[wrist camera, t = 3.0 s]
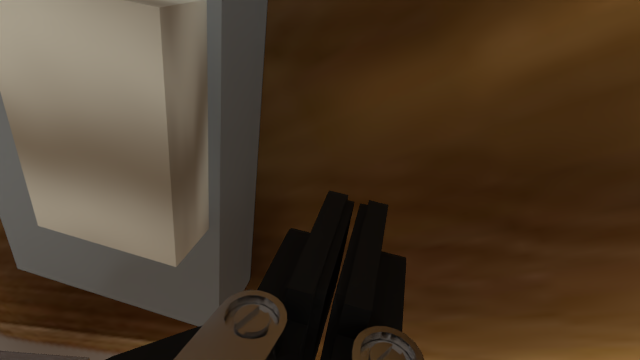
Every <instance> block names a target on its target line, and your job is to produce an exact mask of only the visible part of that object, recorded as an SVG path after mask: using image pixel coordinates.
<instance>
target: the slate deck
mask: <svg viewBox="0 0 640 360" xmlns="http://www.w3.org/2000/svg"><path fill="white" fill-rule="evenodd" d="M267 2H268V0H207V77H208V192H209V229H208V230H207V232H206V233H205V234H204V235H203V236H202V237H201V239H200V240H199V241H198V242H197V243H196V244H195V246H194V247H193V248H192V249H191V250H190V252H189V253H188V254H187V255H186V256H185V257H184V259H183V260H182V261H181V262H180V263H179V264H178V266H177V267H174V266H171V265H167V264H164V263H161V262H157V261H154V260H151V259H147V258H144V257H141V256H137V255H134V254H131V253H127V252H124V251H121V250H117V249H114V248H110V247H107V246H104V245H100V244H97V243H94V242H90V241H87V240H84V239H80V238H77V237H74V236H70V235H67V234H64V233H60V232H57V231H54V230H50V229H47V228H44V227H40V226H38V224H37V220H36V217H35V213H34V210H33V206H32V202H31V199H30V195H29V192H28V188H27V185H26V181H25V178H24V174H23V171H22V167H21V163H20V160H19V156H18V153H17V149H16V146H15V142H14V139H13V135H12V131H11V128H10V124H9V121H8V117H7V114H6V110H5V107H4V103H3V100H2V96H1V92H0V218H1V221H2V224H3V226H4V229H5V232H6V235H7V238H8V241H9V244H10V247H11V250H12V253H13V256H14V259H15V262H16V265H17V268H18V269H21V270H24V271H27V272H30V273H33V274H36V275H39V276H42V277H46V278H49V279H52V280H55V281H58V282H61V283H64V284H67V285H71V286H74V287H77V288H80V289H83V290H86V291H89V292H92V293H95V294H99V295H102V296H105V297H108V298H111V299H114V300H117V301H120V302H124V303H127V304H130V305H133V306H136V307H139V308H142V309H145V310H149V311H152V312H155V313H158V314H161V315H164V316H167V317H170V318H174V319H177V320H180V321H183V322H186V323H189V324H192V325H195V326H202V325H204V323H205V322H206V321H207V320H208V319H209V318H210V317H211V315H212V314H213V313H214V312H215V311H216V310H217V308H218V307H219V306H220V305H221V304H222V303H223V302H224V301H225V300H226V299H227V298H228V297H230V296H232V295H234V294H236V293H238V292H242V291H244V289H245V287H246V286H247V284H248V282H249V280H250V273H251V257H252V241H253V225H254V209H255V193H256V177H257V161H258V145H259V129H260V113H261V98H262V82H263V66H264V50H265V34H266V18H267Z"/></svg>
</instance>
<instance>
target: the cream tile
mask: <svg viewBox="0 0 640 360" xmlns="http://www.w3.org/2000/svg"><path fill="white" fill-rule="evenodd" d="M0 92H1V96H2V100H3V103H4V107H5V110H6V114H7V117H8V121H9V124H10V128H11V131H12V135H13V139H14V142H15V146H16V149H17V153H18V156H19V160H20V163H21V167H22V171H23V174H24V178H25V181H26V185H27V188H28V192H29V195H30V199H31V202H32V206H33V210H34V213H35V217H36V220H37V224H38V226H40V227H44V228H47V229H50V230H54V231H57V232H60V233H64V234H67V235H70V236H74V237H77V238H80V239H84V240H87V241H90V242H94V243H97V244H100V245H104V246H107V247H110V248H114V249H117V250H121V251H124V252H127V253H131V254H134V255H137V256H141V257H144V258H147V259H151V260H154V261H157V262H161V263H164V264H167V265H171V266H174V267H177V266H178V264H179V263H180V262H181V261H182V260H183V259H184V257H185V256H186V255H187V254H188V253H189V252H190V250H191V249H192V248H193V247H194V246H195V244H196V243H197V242H198V241H199V240H200V239H201V237H202V236H203V235H204V234H205V233H206V232H207V230H208V229H209V192H208V77H207V0H0Z"/></svg>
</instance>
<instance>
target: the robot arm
mask: <svg viewBox="0 0 640 360" xmlns="http://www.w3.org/2000/svg"><path fill="white" fill-rule="evenodd" d="M353 206H354V202H353V201H349V200H348V195H345V194H341V193H337V192H333V191H329V192H328V194H327V196H326V199H325V201H324V203H323V206H322V208H321V210H320V212H319V215H318V217H317V219H316V222H315V224H314V226H313V228H312V231H311V233H309V232H305V231H301V230H297V229H293V228H291V229H290V230H289V231H288V233H287V235H286V237H285V239H284V240H283V242H282V244H281V246H280V248H279V250H278V252H277V254H276V256H275V258H274V259H273V261H272V263H271V265H270V267H269V269H268V271H267V273H266V275H265V276H264V278H263V280H262V282H261V284H260V286H259V288H258V290H247V291H242V292H238V293H236V294H234V295H232V296H230V297H228V298H227V299H226V300H225V301H224V302H223V303H222V304H221V305H220V306H219V307H218V308H217V310H216V311H215V312H214V313H213V314H212V315H211V317H210V318H209V319H208V320H207V321H206V322H205V323H204V325H202V326H199V327H196V328H193V329H191V330H188V331H185V332H182V333H179V334H176V335H173V336H170V337H167V338H164V339H162V340H159V341H156V342H153V343H150V344H147V345H144V346H141V347H138V348H135V349H133V350H130V351H127V352H124V353H121V354H118V355H115V356H112V357H110V358H108V359H106V360H315V358H316V354H317V351H318V347H319V344H320V340H321V337H322V333H323V330H324V326H325V323H326V319H327V315H328V312H329V308H330V305H331V301H332V298H333V294H334V291H335V287H336V283H337V279H338V275H339V271H340V266H341V262H342V257H343V252H344V248H345V243H346V239H347V234H348V229H349V225H350V220H351V216H352V211H353ZM387 210H388V205H387V204H383V203H378V202H374V201H370V200H369V203H368V205H365V204H361V203H360V206H359V210H358V214H357V217H356V221H355V224H354V228H353V232H352V235H351V239H350V242H349V246H348V250H347V253H346V257H345V260H344V264H343V268H342V271H341V275H340V278H339V282H338V286H337V289H336V293H335V297H334V301H333V305H332V309H331V314H330V318H329V323H328V327H327V332H326V336H325V341H324V346H323V350H322V355H321V359H320V360H424V358H423V355H422V352H421V350H420V349H419V347H418V346H417V344H416V343H415V342H414V341H413V340H412V339H411V338H410V337H408V336H407V335H406V334H404V333H402V322H403V306H404V289H405V273H406V258H405V257H401V256H397V255H394V254H390V253H386V252H382V251H381V249H382V242H383V236H384V229H385V223H386V216H387ZM0 360H90V359H89V358H86V357H72V356H59V355H47V354H34V353H20V352H8V351H0Z"/></svg>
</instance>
